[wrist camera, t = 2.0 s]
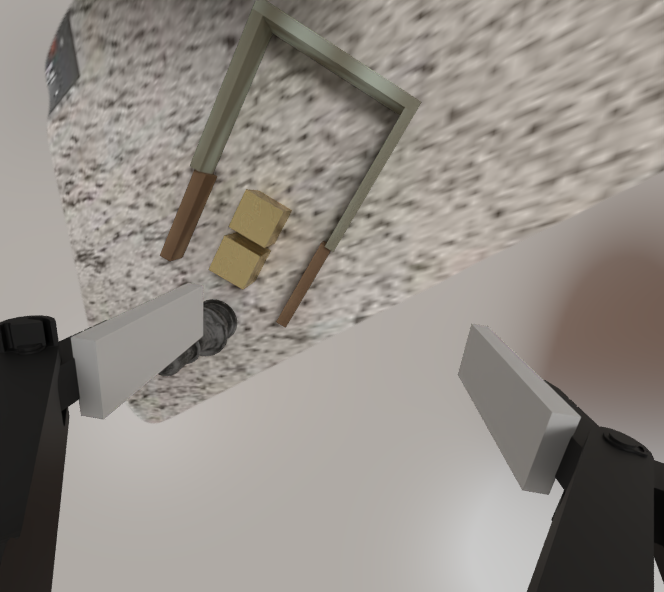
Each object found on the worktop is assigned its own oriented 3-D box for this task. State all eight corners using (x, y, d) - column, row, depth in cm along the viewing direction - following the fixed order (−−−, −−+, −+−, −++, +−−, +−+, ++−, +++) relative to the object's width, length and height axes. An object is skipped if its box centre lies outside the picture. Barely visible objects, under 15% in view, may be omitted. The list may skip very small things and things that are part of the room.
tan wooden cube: (224, 262, 36) (208, 269, 32) (239, 231, 35) (224, 235, 31) (255, 280, 36) (243, 289, 33) (271, 250, 35) (260, 256, 31)
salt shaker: (248, 318, 38) (199, 369, 26) (222, 351, 39) (165, 413, 28) (208, 287, 37) (140, 326, 26) (183, 322, 39) (108, 373, 27)
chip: (243, 223, 35) (228, 226, 31) (259, 190, 33) (246, 189, 30) (275, 242, 35) (264, 248, 31) (292, 210, 34) (283, 211, 30)
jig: (170, 250, 36) (154, 254, 33) (267, 15, 29) (257, -5, 26) (292, 320, 37) (286, 330, 34) (415, 111, 30) (421, 102, 27)
